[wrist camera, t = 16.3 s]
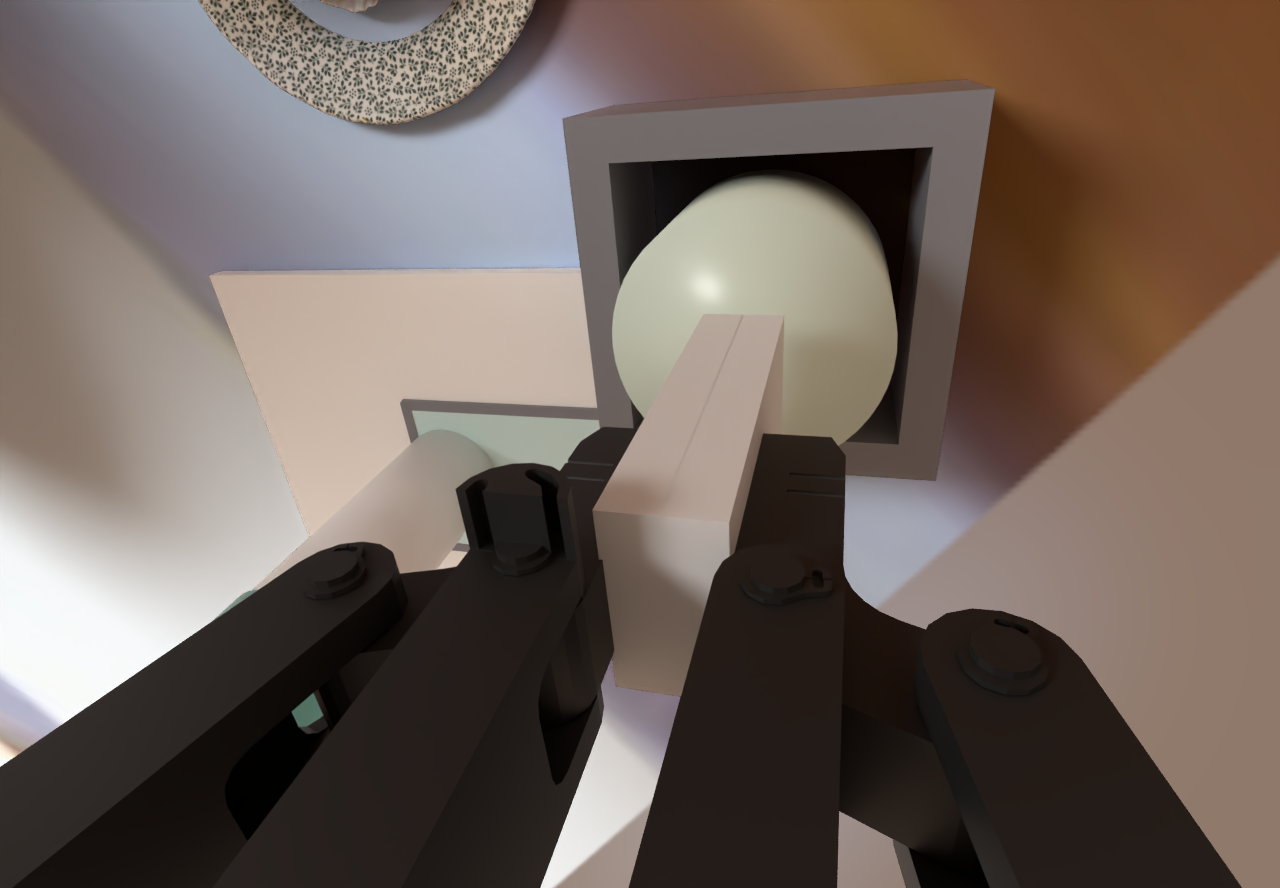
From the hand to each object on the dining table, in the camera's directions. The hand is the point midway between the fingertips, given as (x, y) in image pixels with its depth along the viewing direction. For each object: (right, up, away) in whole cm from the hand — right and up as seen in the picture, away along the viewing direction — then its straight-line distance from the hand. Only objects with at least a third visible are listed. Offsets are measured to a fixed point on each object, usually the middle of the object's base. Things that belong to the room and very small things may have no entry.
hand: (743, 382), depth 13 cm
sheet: (-8, -2, +13) cm, 15 cm away
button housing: (+2, +4, +7) cm, 8 cm away
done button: (+1, +3, +5) cm, 6 cm away
